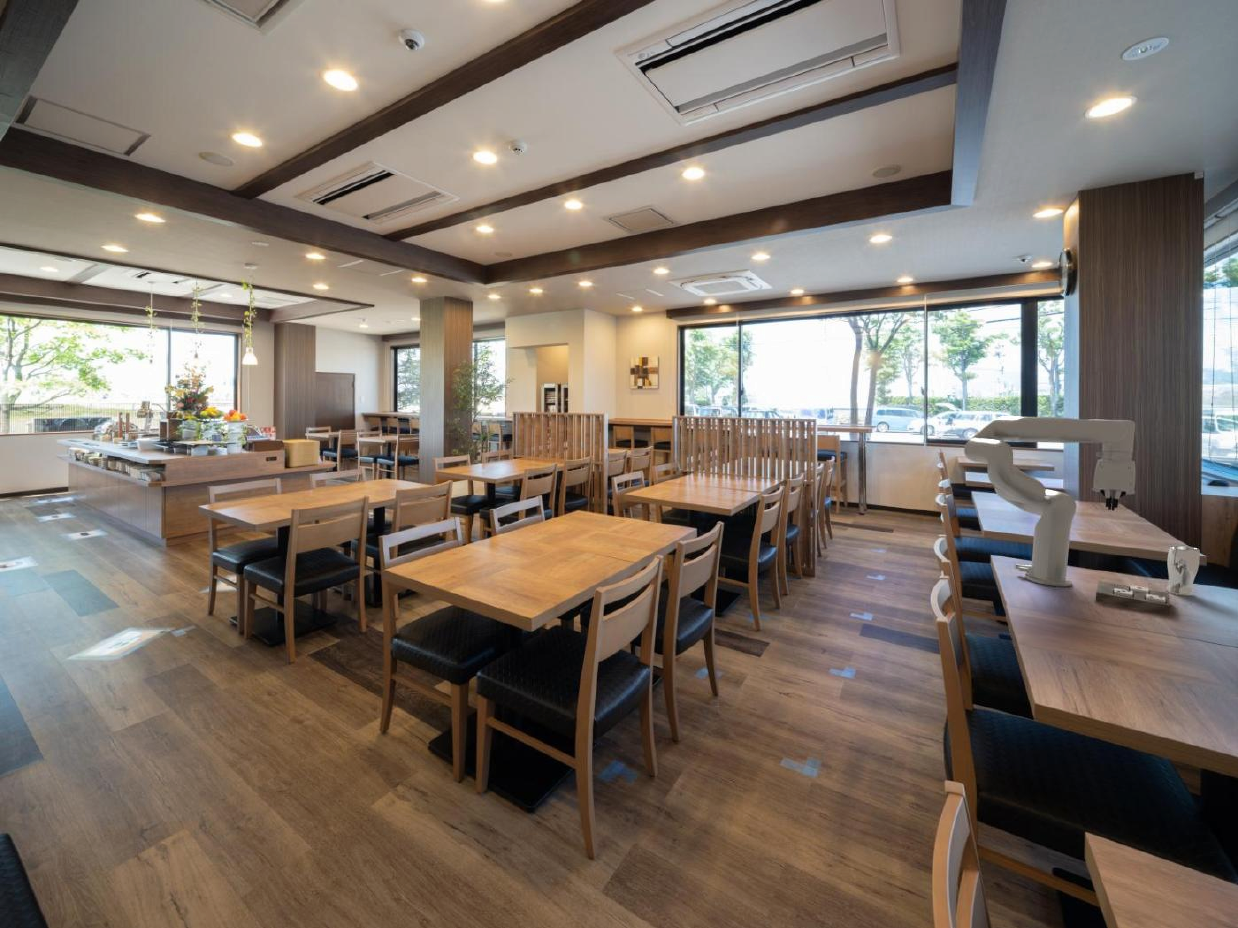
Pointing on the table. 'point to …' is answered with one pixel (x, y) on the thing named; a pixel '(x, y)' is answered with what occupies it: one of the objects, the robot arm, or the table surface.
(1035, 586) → the table surface
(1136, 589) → the tile one pip
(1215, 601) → the table surface
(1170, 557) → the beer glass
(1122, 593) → the tile three pips
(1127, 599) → the button board
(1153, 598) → the tile two pips
